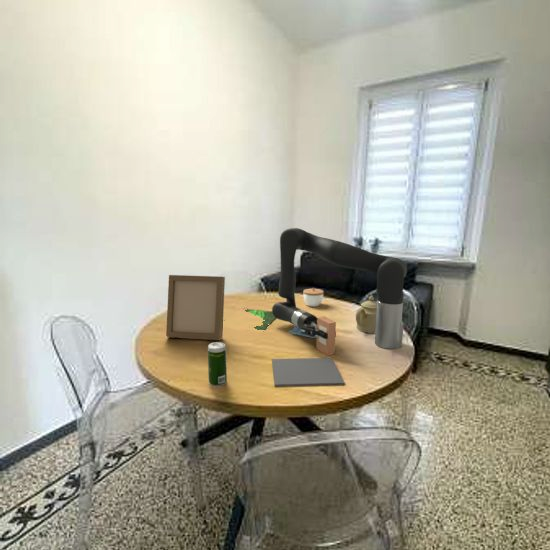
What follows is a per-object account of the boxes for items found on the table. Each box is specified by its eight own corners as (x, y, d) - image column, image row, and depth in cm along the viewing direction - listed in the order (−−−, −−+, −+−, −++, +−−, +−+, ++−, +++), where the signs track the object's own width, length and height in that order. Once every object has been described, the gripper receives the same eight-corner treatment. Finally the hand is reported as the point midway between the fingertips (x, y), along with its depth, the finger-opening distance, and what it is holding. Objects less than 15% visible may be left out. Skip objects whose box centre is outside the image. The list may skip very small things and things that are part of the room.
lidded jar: (312, 301, 191) (313, 284, 189) (327, 305, 183) (328, 288, 181) (298, 304, 184) (299, 287, 182) (313, 309, 176) (313, 291, 174)
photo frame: (219, 342, 134) (217, 279, 129) (166, 339, 137) (162, 277, 132) (229, 329, 148) (228, 272, 143) (181, 326, 151) (178, 270, 146)
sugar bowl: (381, 338, 139) (384, 302, 136) (354, 334, 142) (355, 299, 139) (383, 326, 152) (385, 293, 149) (357, 323, 156) (359, 291, 153)
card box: (323, 346, 130) (324, 316, 128) (334, 353, 124) (336, 322, 122) (316, 348, 129) (317, 317, 126) (327, 355, 123) (328, 323, 120)
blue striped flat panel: (315, 339, 138) (315, 336, 138) (288, 333, 144) (288, 331, 144) (327, 329, 150) (327, 326, 149) (302, 324, 156) (302, 321, 155)
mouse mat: (263, 333, 144) (263, 331, 144) (215, 327, 150) (215, 325, 150) (281, 313, 170) (281, 311, 170) (239, 309, 176) (239, 307, 176)
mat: (332, 359, 120) (332, 357, 120) (344, 384, 103) (344, 382, 103) (271, 360, 118) (271, 359, 118) (274, 386, 102) (274, 384, 102)
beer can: (230, 382, 104) (229, 345, 102) (216, 389, 100) (214, 350, 98) (219, 376, 108) (218, 340, 105) (205, 382, 104) (203, 345, 101)
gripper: (289, 314, 133) (315, 328, 118) (319, 309, 140) (347, 322, 125) (289, 333, 135) (314, 349, 120) (318, 327, 141) (346, 341, 126)
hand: (330, 335), depth 123 cm, fingers closed on card box, 3 cm apart
